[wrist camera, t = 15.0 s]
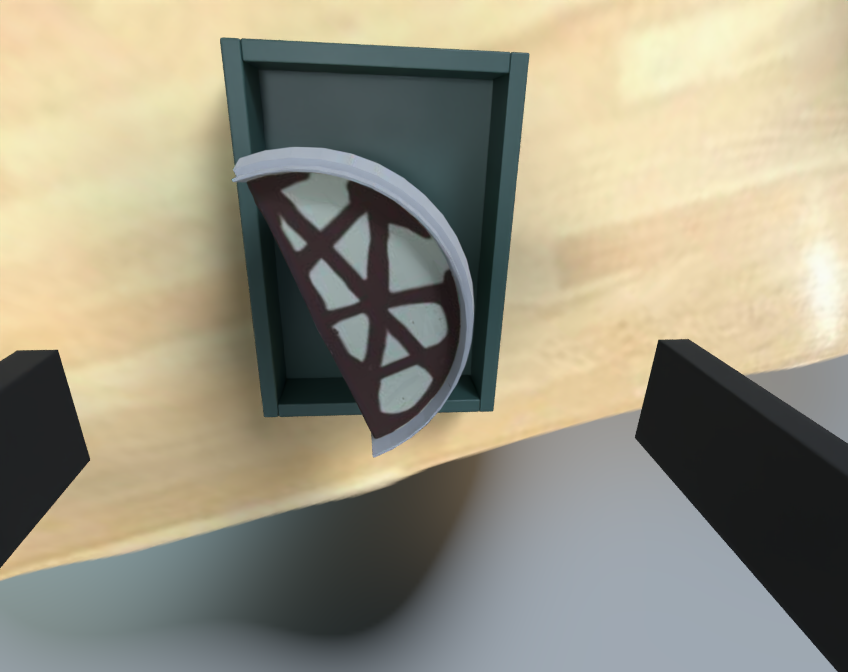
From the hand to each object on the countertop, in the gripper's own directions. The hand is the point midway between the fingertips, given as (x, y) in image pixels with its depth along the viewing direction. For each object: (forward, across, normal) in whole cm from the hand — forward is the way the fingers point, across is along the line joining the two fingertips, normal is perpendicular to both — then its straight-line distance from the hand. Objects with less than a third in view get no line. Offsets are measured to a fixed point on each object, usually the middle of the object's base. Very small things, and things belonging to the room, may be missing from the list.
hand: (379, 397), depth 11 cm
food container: (+16, +1, 0) cm, 16 cm away
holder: (+17, 0, 0) cm, 17 cm away
